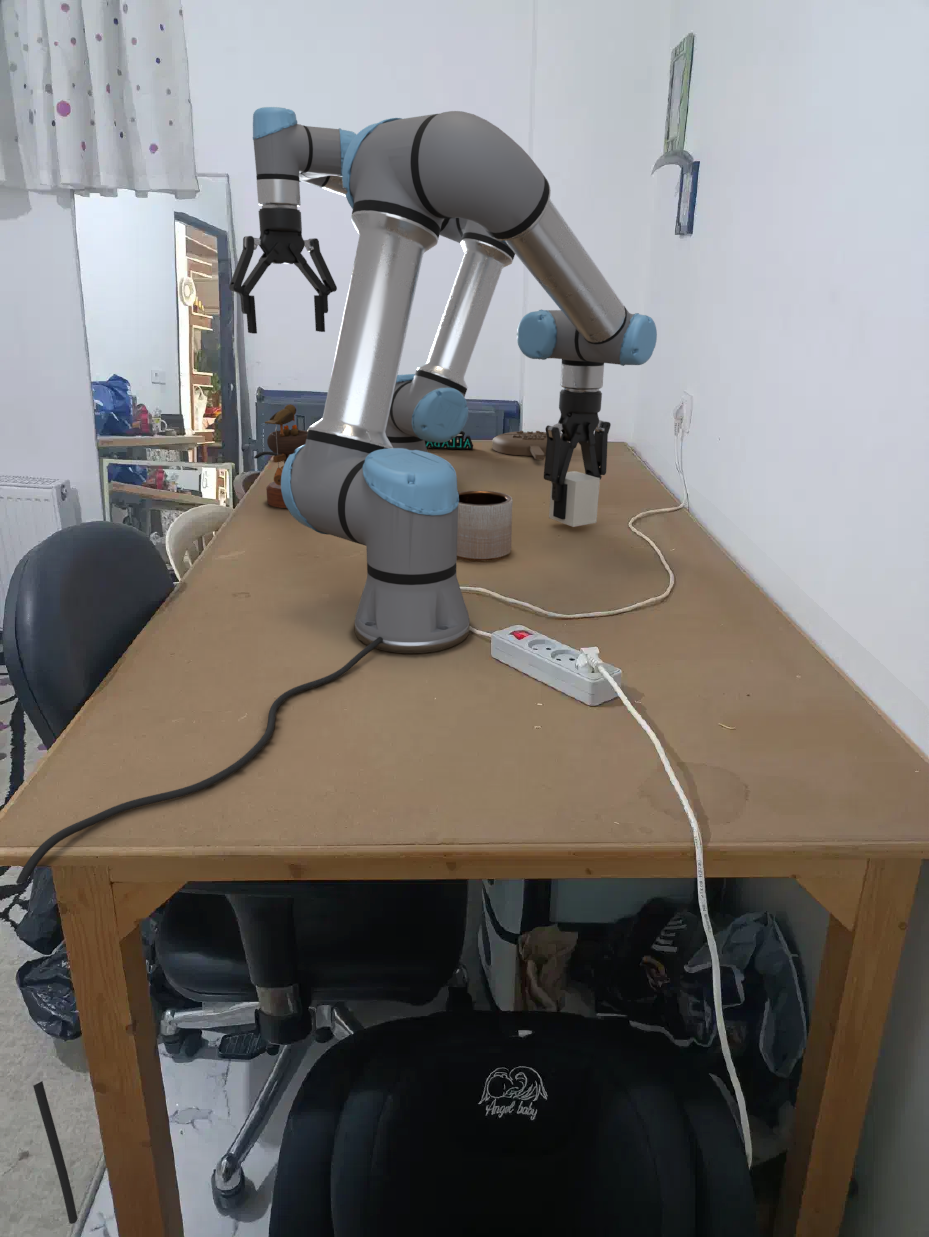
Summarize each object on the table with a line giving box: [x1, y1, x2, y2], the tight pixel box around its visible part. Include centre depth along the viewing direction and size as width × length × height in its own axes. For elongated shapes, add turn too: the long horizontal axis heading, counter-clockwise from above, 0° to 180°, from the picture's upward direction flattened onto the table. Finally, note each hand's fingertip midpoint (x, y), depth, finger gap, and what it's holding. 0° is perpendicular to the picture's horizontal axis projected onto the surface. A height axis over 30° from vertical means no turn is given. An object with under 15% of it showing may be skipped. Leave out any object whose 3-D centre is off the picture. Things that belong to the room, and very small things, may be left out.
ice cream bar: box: [491, 430, 570, 461], centre depth 224 cm, size 21×28×4 cm
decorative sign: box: [425, 430, 474, 450], centre depth 227 cm, size 19×2×15 cm, turn 86°
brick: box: [548, 470, 601, 528], centre depth 158 cm, size 6×7×8 cm
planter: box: [457, 489, 513, 562], centre depth 143 cm, size 11×11×10 cm
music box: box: [264, 403, 308, 509], centre depth 172 cm, size 15×11×20 cm
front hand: (572, 515), depth 160 cm, fingers closed on brick, 6 cm apart
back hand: (287, 332), depth 160 cm, fingers open, 13 cm apart
